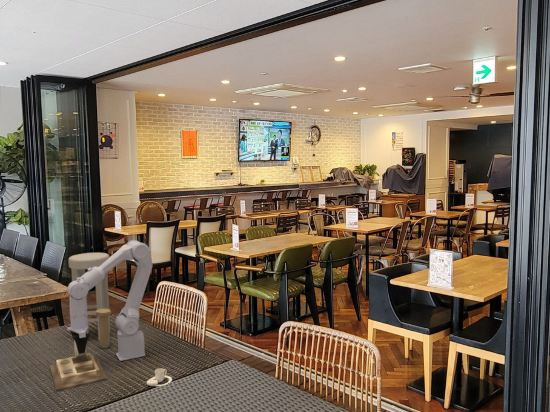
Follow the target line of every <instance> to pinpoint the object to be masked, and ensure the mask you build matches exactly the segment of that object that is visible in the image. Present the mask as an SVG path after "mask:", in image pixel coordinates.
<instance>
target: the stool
mask: <svg viewBox="0 0 550 412" xmlns="http://www.w3.org/2000/svg"><path fill="white" fill-rule="evenodd" d="M109 258H110V254H108V253H105V252H85V253H79V254H74V255H71V256H69V258H68V268H70V270H71V282H73V281H78V280H77V278H78V277H79V278H80V277H81V276H82V275H84V274H85V273H86V270H88V269H89V268H93V267H99V266H101V265H102V264H103V263H104V262H105V261H106V260H107V259H109ZM108 284H109V283H108V272H107V273H105V277H104V279H103V280H102V281H100V282H99V283H98V284H97V285H95V295H96V296H95V297H96V304H92V305H91V304H87V318H88V323H94V322H97V335H98V337H97V338H98V342H100V337H99V316H97V315H96V310H98V309H110V303H109V285H108ZM87 297H88V295H87V296H86V301H87V302H88V298H87ZM88 309H96V310H91V311H90V310H89V311H88ZM89 316H97V317H93V318H91V317H90V318H89ZM110 318H111V317H110V315H109V316H108V323H109V331H110V332H111V322H110V321H111V319H110ZM89 328H90V327H88V329H87V331H86V334H87V333H89V332H90V331H89ZM89 334H90V333H89Z"/></svg>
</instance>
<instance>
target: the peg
mask: <svg viewBox="0 0 550 412" xmlns="http://www.w3.org/2000/svg"><path fill="white" fill-rule="evenodd" d="M73 344H74V345H73V347H74V349H73V350H74V357H75V360H84V359H86V358H87V354H88V353H87V349H86V350H85V353H82V354H79V353H78V350H77V346H76V342H75V340H74V339H73Z"/></svg>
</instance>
